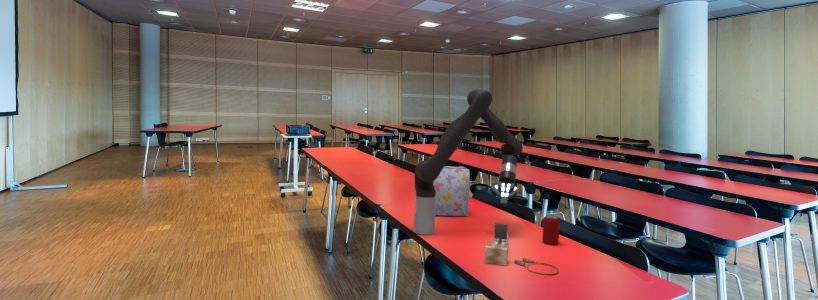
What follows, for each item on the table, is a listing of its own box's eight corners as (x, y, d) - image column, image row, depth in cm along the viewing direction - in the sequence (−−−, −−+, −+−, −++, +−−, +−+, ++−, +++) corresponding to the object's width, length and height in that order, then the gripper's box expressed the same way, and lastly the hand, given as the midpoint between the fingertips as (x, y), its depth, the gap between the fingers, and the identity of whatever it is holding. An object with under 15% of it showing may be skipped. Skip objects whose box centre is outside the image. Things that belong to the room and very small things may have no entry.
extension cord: (538, 260, 170) (538, 255, 170) (565, 274, 155) (566, 269, 155) (511, 263, 166) (511, 258, 165) (537, 278, 151) (537, 273, 151)
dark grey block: (489, 259, 165) (490, 233, 164) (494, 245, 182) (495, 221, 181) (502, 261, 164) (504, 234, 163) (506, 247, 181) (508, 223, 180)
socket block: (484, 262, 164) (485, 247, 163) (486, 257, 169) (487, 242, 169) (506, 265, 161) (506, 249, 161) (507, 260, 167) (508, 245, 166)
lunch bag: (464, 210, 248) (466, 164, 246) (470, 217, 231) (472, 168, 229) (425, 209, 247) (427, 163, 244) (428, 217, 230) (430, 167, 228)
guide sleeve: (492, 253, 175) (493, 243, 174) (497, 242, 190) (497, 233, 189) (504, 254, 173) (504, 245, 173) (507, 243, 188) (508, 234, 188)
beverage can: (559, 242, 192) (560, 215, 191) (557, 246, 186) (559, 219, 185) (543, 239, 195) (545, 213, 194) (541, 244, 189) (542, 217, 188)
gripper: (493, 168, 204) (488, 198, 194) (522, 171, 200) (518, 202, 190) (493, 178, 210) (489, 208, 199) (522, 180, 206) (518, 211, 195)
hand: (503, 205), depth 194 cm, fingers closed
